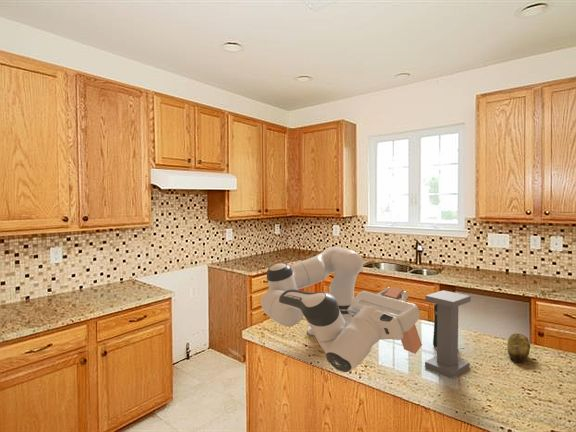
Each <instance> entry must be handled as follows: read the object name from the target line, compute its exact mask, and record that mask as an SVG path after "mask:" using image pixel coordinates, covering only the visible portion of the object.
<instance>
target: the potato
mask: <svg viewBox="0 0 576 432" xmlns="http://www.w3.org/2000/svg"><path fill="white" fill-rule="evenodd" d="M506 345H507V350H506V351H507V354H508V356H509V358H510V359H512V360H513V361H515V362H518V363H524V362H526V361H527V360H528V357H529V356H530V350H531V344H530V341H529V338H528V337H527V336H525V335H523V334H521V333H513V334H511V335H510V336H509V337H508V339H507V344H506Z"/></svg>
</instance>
